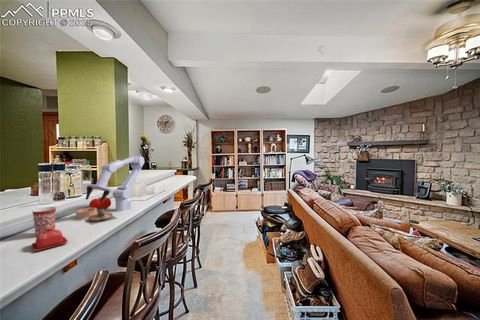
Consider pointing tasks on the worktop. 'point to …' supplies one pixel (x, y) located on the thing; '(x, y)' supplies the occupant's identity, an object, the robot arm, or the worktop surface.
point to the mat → (100, 221)
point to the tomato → (100, 203)
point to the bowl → (85, 213)
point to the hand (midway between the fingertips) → (93, 200)
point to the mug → (44, 219)
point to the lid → (100, 216)
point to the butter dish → (49, 239)
